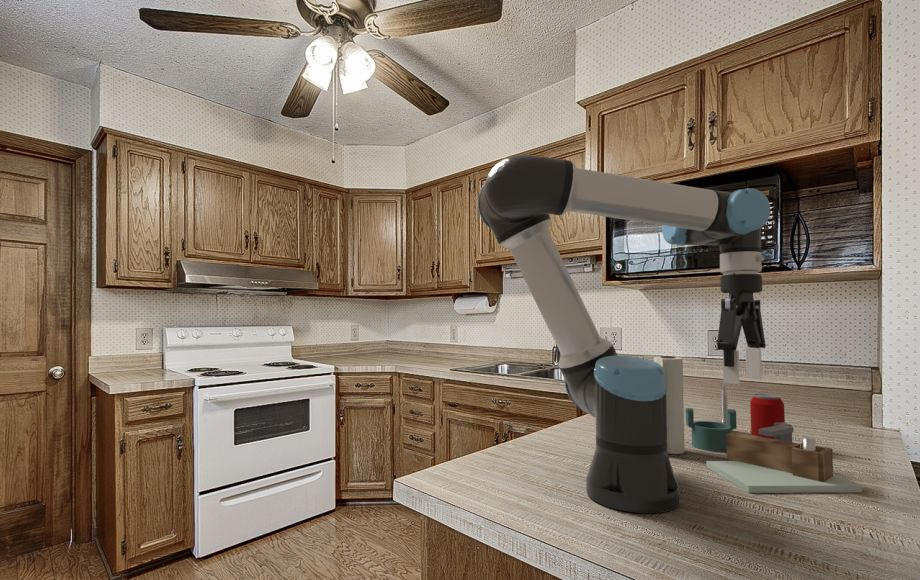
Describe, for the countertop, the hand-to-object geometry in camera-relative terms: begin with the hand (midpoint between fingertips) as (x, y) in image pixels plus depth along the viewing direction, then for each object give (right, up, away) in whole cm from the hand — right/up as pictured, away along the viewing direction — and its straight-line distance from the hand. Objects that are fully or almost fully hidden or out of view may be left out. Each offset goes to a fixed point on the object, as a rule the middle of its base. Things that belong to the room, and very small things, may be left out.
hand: (743, 380), depth 99 cm
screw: (+11, -19, +27) cm, 35 cm away
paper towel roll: (-11, -18, +10) cm, 24 cm away
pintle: (+7, -16, -9) cm, 20 cm away
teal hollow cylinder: (+1, -18, +14) cm, 23 cm away
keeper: (+5, -17, -3) cm, 18 cm away
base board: (+2, -17, -8) cm, 19 cm away
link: (+4, -16, -5) cm, 17 cm away
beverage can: (+14, -18, +13) cm, 26 cm away
